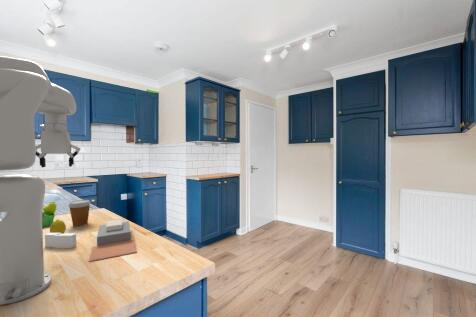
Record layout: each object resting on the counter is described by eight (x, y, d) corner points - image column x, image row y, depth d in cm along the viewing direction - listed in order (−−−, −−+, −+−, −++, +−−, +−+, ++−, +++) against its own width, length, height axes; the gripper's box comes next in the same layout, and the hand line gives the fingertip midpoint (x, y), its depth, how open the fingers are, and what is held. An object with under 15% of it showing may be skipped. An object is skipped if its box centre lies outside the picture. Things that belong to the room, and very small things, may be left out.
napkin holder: (84, 246, 92) (83, 232, 91) (48, 257, 82) (48, 241, 82) (71, 238, 101) (70, 225, 100) (37, 246, 91) (37, 232, 91)
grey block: (130, 241, 95) (130, 231, 95) (97, 247, 90) (96, 237, 90) (129, 229, 109) (128, 221, 109) (100, 234, 104) (99, 225, 104)
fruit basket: (34, 223, 120) (33, 202, 120) (55, 219, 126) (55, 199, 126) (35, 228, 112) (35, 206, 111) (58, 224, 118) (57, 203, 118)
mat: (136, 252, 84) (136, 251, 84) (88, 262, 77) (88, 260, 77) (134, 240, 96) (134, 239, 96) (92, 247, 89) (92, 246, 89)
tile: (122, 229, 99) (122, 224, 99) (106, 231, 96) (106, 226, 96) (121, 223, 107) (121, 219, 106) (107, 225, 104) (107, 221, 104)
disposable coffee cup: (88, 226, 115) (88, 202, 115) (66, 228, 111) (65, 204, 111) (93, 220, 124) (92, 199, 123) (72, 222, 120) (71, 200, 120)
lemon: (57, 240, 97) (56, 221, 96) (46, 239, 98) (46, 221, 97) (69, 235, 102) (68, 218, 102) (59, 234, 103) (58, 217, 103)
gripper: (27, 126, 93) (28, 168, 93) (78, 128, 101) (79, 166, 101) (33, 128, 99) (34, 167, 100) (81, 129, 107) (82, 165, 108)
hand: (57, 166), depth 101 cm, fingers open, 9 cm apart
